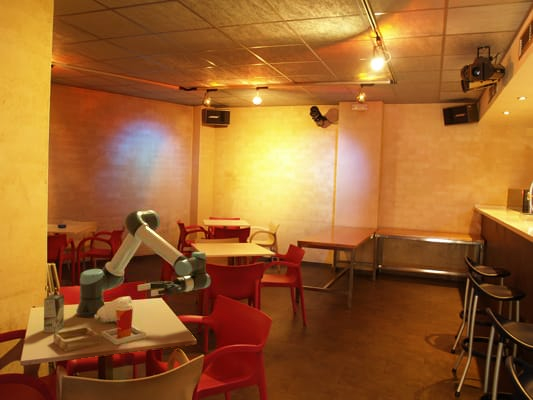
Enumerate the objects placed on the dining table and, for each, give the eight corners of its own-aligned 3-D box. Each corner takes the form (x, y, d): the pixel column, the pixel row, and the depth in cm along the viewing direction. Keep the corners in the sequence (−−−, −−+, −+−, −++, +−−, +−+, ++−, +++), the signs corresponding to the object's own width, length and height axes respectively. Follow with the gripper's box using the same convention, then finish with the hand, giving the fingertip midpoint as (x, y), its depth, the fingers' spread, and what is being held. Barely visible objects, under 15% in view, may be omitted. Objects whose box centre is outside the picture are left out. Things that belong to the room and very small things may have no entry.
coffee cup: (117, 333, 217) (117, 302, 216) (134, 333, 217) (135, 302, 217) (112, 339, 208) (113, 307, 208) (131, 339, 209) (131, 307, 208)
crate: (53, 341, 204) (53, 333, 203) (87, 335, 214) (87, 326, 214) (65, 351, 193) (65, 342, 192) (99, 343, 203) (100, 335, 202)
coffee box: (57, 332, 216) (57, 299, 215) (43, 332, 215) (43, 299, 215) (64, 326, 225) (64, 294, 224) (50, 326, 225) (50, 294, 224)
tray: (101, 335, 213) (102, 331, 213) (131, 329, 223) (131, 325, 223) (115, 344, 202) (115, 340, 202) (146, 337, 212) (146, 333, 212)
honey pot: (130, 326, 231) (94, 331, 229) (134, 312, 243) (100, 317, 241) (125, 304, 226) (88, 309, 225) (129, 291, 238) (94, 296, 237)
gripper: (196, 296, 224) (157, 303, 209) (170, 287, 242) (132, 293, 228) (196, 281, 223) (157, 287, 209) (170, 273, 242) (132, 278, 227)
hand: (144, 290), depth 218 cm, fingers open, 13 cm apart
